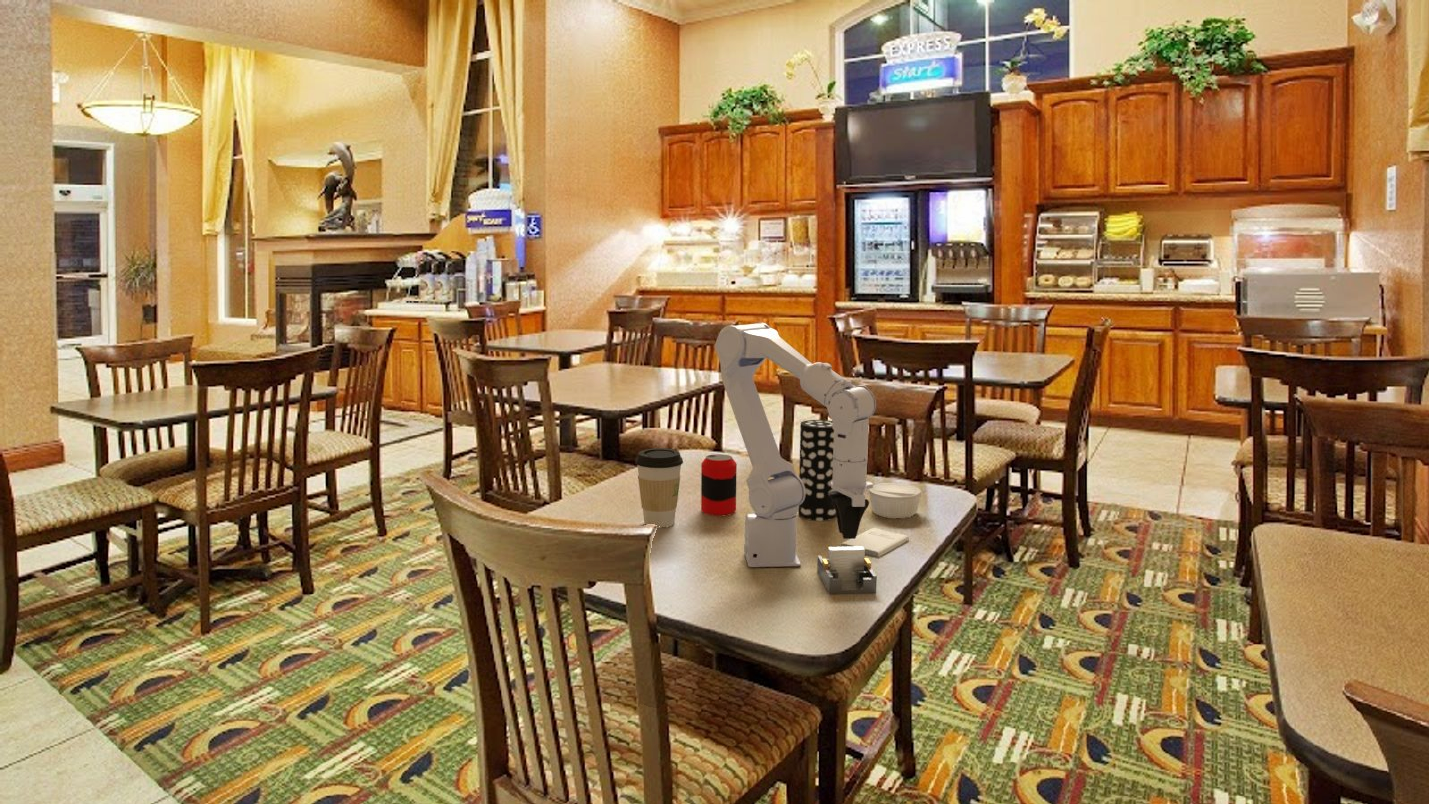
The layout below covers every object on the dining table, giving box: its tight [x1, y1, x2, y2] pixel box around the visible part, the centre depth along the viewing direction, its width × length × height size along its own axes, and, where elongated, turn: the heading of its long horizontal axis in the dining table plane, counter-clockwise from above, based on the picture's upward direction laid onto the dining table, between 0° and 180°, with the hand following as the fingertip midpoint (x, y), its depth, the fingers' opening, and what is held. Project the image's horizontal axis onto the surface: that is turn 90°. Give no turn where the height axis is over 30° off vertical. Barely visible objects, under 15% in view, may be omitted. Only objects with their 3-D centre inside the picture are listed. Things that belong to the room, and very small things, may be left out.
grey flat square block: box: [827, 546, 866, 580], centre depth 157 cm, size 6×2×6 cm, turn 95°
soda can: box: [700, 453, 738, 517], centre depth 197 cm, size 8×8×12 cm
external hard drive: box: [840, 527, 910, 558], centre depth 178 cm, size 2×8×12 cm
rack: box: [816, 554, 878, 595], centre depth 158 cm, size 8×10×4 cm
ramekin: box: [868, 482, 922, 519], centre depth 198 cm, size 11×11×5 cm
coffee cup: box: [634, 447, 684, 528], centre depth 188 cm, size 10×10×15 cm
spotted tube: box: [797, 419, 837, 522], centre depth 194 cm, size 8×8×20 cm
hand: (847, 535), depth 156 cm, fingers open, 2 cm apart
